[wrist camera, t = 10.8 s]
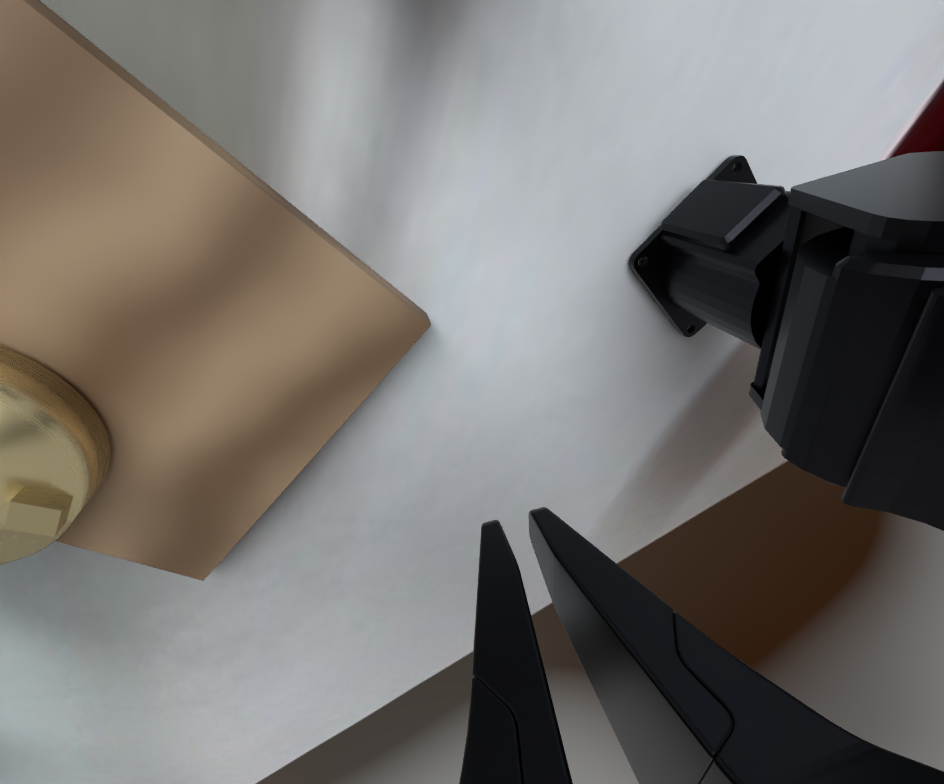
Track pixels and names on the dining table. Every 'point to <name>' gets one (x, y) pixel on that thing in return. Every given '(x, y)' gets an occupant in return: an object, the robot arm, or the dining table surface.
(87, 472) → the ring nut spanner
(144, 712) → the dining table surface
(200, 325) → the walnut base
